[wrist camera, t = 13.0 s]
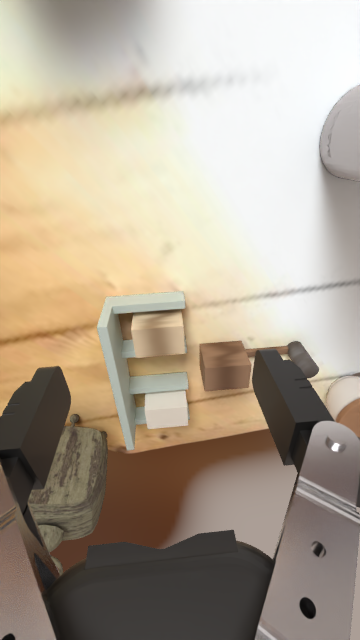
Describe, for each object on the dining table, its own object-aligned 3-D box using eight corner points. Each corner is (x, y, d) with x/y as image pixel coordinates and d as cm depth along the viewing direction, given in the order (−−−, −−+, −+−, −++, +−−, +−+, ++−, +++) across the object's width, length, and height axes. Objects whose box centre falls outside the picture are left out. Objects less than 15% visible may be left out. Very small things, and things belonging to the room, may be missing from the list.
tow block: (304, 336, 47) (322, 359, 42) (298, 357, 50) (315, 382, 45) (199, 343, 47) (205, 368, 41) (199, 365, 49) (204, 391, 44)
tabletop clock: (38, 435, 56) (-32, 612, 35) (34, 404, 51) (-51, 587, 30) (112, 437, 58) (89, 605, 37) (114, 407, 53) (88, 581, 32)
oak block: (180, 303, 42) (183, 325, 37) (181, 330, 45) (185, 353, 40) (133, 307, 42) (131, 330, 37) (138, 333, 45) (136, 358, 40)
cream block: (183, 380, 51) (187, 406, 46) (185, 398, 53) (188, 425, 48) (145, 384, 51) (144, 410, 46) (148, 402, 53) (147, 429, 48)
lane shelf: (183, 291, 41) (188, 320, 34) (187, 406, 55) (192, 443, 48) (106, 296, 41) (96, 327, 34) (130, 412, 54) (127, 450, 47)
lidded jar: (324, 368, 52) (355, 408, 44) (379, 364, 52) (419, 403, 45) (311, 407, 58) (336, 449, 50) (360, 403, 58) (393, 444, 50)
